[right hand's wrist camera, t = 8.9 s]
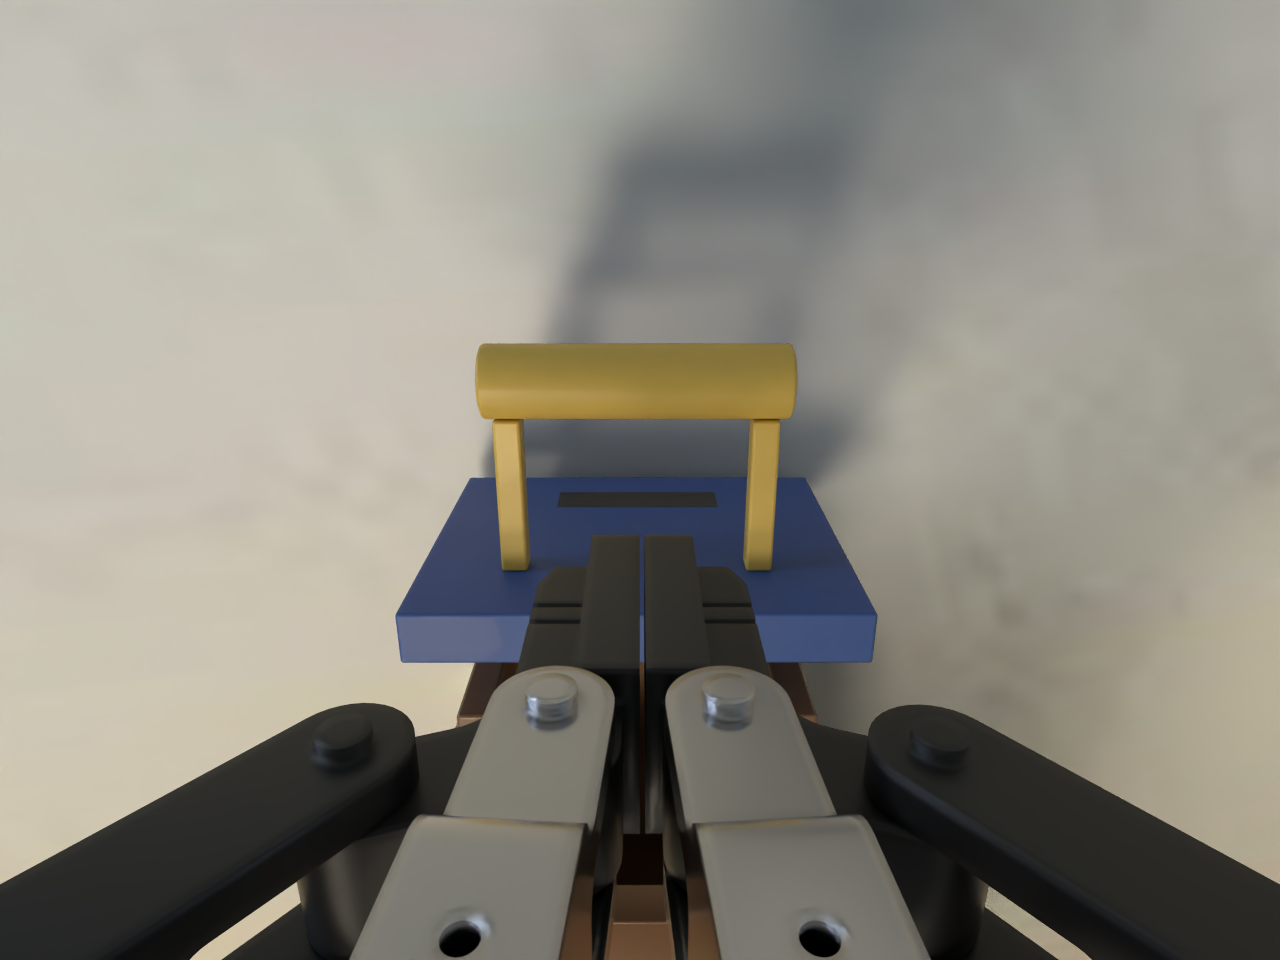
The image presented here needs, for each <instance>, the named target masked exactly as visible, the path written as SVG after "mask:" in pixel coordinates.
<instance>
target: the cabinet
mask: <svg viewBox="0 0 1280 960" xmlns="http://www.w3.org/2000/svg"><path fill="white" fill-rule="evenodd" d="M802 671H803V669H802ZM803 674H804V672H803ZM804 677H805V675H804ZM805 681H806V678H805ZM806 684H807V682H806ZM816 723H817V724H819V722H818V719H817V721H816ZM457 727H458V723H457V725H456V728H457ZM609 960H671V955H670V947H669V939H668V931H667V923H666V914H665V906H664V898H663V885H617V898H616V906H615V914H614V923H613V931H612V939H611V947H610V955H609Z"/></svg>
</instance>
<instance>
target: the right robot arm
mask: <svg viewBox="0 0 1280 960" xmlns="http://www.w3.org/2000/svg"><path fill="white" fill-rule="evenodd" d="M644 720H645V833H663V898H664V906H665V914H666V923H667V931H668V939H669V947H670V955H671V960H1058V959H1057V958H1055V957H1054V956H1053V955H1051V954H1050V953H1048V952H1047V951H1046V950H1044V949H1043V948H1041V947H1040V946H1039V945H1037V944H1036V943H1034V942H1033V941H1032V940H1030V939H1029V938H1027V937H1026V936H1025V935H1023V934H1022V933H1020V932H1019V931H1018V930H1016V929H1015V928H1014V927H1012V926H1011V925H1009V924H1008V923H1007V922H1005V921H1004V920H1002V919H1001V918H1000V917H998V916H997V915H995V914H994V913H993V912H991V911H990V910H988V909H987V908H986V907H985V902H986V897H987V892H988V887H989V886H990V887H992V888H993V889H995V890H996V891H997V892H999V893H1000V894H1002V895H1003V896H1005V897H1006V898H1008V899H1009V900H1010V901H1012V902H1013V903H1015V904H1016V905H1018V906H1019V907H1021V908H1022V909H1023V910H1025V911H1026V912H1028V913H1029V914H1031V915H1032V916H1033V917H1035V918H1036V919H1038V920H1039V921H1041V922H1042V923H1044V924H1045V925H1046V926H1048V927H1049V928H1051V929H1052V930H1054V931H1055V932H1057V933H1058V934H1059V935H1061V936H1062V937H1064V938H1065V939H1067V940H1068V941H1069V942H1071V943H1072V944H1074V945H1075V946H1077V947H1078V948H1079V949H1081V950H1082V951H1083V952H1085V953H1086V954H1087V955H1088V956H1089V957H1090V958H1091V959H1092V960H1280V884H1278V883H1276V882H1274V881H1272V880H1271V879H1269V878H1267V877H1265V876H1263V875H1261V874H1260V873H1258V872H1256V871H1254V870H1252V869H1250V868H1248V867H1247V866H1245V865H1243V864H1241V863H1239V862H1237V861H1236V860H1234V859H1232V858H1230V857H1228V856H1226V855H1224V854H1223V853H1221V852H1219V851H1217V850H1215V849H1213V848H1212V847H1210V846H1208V845H1206V844H1204V843H1202V842H1200V841H1199V840H1197V839H1195V838H1193V837H1191V836H1189V835H1188V834H1186V833H1184V832H1182V831H1180V830H1178V829H1176V828H1175V827H1173V826H1171V825H1169V824H1167V823H1165V822H1164V821H1162V820H1160V819H1158V818H1156V817H1154V816H1152V815H1151V814H1149V813H1147V812H1145V811H1143V810H1141V809H1140V808H1138V807H1136V806H1134V805H1132V804H1130V803H1128V802H1127V801H1125V800H1123V799H1121V798H1119V797H1117V796H1116V795H1114V794H1112V793H1110V792H1108V791H1106V790H1104V789H1103V788H1101V787H1099V786H1097V785H1095V784H1093V783H1092V782H1090V781H1088V780H1086V779H1084V778H1082V777H1080V776H1079V775H1077V774H1075V773H1073V772H1071V771H1069V770H1068V769H1066V768H1064V767H1062V766H1060V765H1058V764H1056V763H1055V762H1053V761H1051V760H1049V759H1047V758H1045V757H1044V756H1042V755H1040V754H1038V753H1036V752H1034V751H1032V750H1031V749H1029V748H1027V747H1025V746H1023V745H1021V744H1020V743H1018V742H1016V741H1014V740H1012V739H1010V738H1008V737H1007V736H1005V735H1003V734H1001V733H999V732H997V731H996V730H994V729H992V728H990V727H988V726H986V725H984V724H983V723H981V722H979V721H977V720H975V719H973V718H971V717H969V716H967V715H964V714H962V713H959V712H956V711H953V710H950V709H946V708H942V707H936V706H930V705H906V706H899V707H896V708H892V709H889V710H887V711H885V712H883V713H881V714H880V715H879V716H878V717H876V718H875V720H874V721H873V722H872V723H871V726H870V729H869V733H868V736H865V735H861V734H856V733H851V732H847V731H842V730H837V729H833V728H830V727H826V726H823V725H820V724H817V723H814V722H812V721H810V720H808V719H806V718H804V717H802V716H800V715H798V714H797V713H796V712H795V710H794V707H793V705H792V702H791V700H790V698H789V696H788V694H787V692H786V691H785V690H784V689H783V688H782V686H780V685H779V684H778V683H777V682H776V681H774V680H773V679H771V677H770V674H769V670H768V666H767V662H766V658H765V654H764V650H763V646H762V642H761V638H760V634H759V630H758V627H757V624H756V619H755V615H754V611H753V607H752V603H751V599H750V595H749V591H748V587H747V584H746V583H745V582H744V581H743V580H742V579H741V578H740V577H739V576H738V575H737V574H736V573H734V572H733V571H732V570H731V569H730V568H729V567H697V564H696V557H695V550H694V543H693V536H692V535H644ZM623 834H640V535H592V538H591V545H590V553H589V560H588V567H555V568H554V569H553V570H552V571H551V572H550V573H549V574H548V575H547V576H546V577H545V578H543V579H542V580H541V581H540V582H539V583H538V585H537V589H536V593H535V597H534V601H533V607H532V610H531V614H530V618H529V624H528V626H527V630H526V634H525V638H524V642H523V646H522V651H521V655H520V659H519V663H518V667H517V671H516V675H514V676H512V677H511V678H509V679H507V680H506V681H504V682H503V683H502V684H501V685H500V686H498V688H497V689H496V690H495V691H494V692H493V694H492V696H491V698H490V700H489V702H488V705H487V707H486V710H485V712H484V715H483V717H482V718H481V719H479V720H477V721H475V722H472V723H470V724H467V725H464V726H461V727H457V728H454V729H450V730H445V731H441V732H436V733H431V734H427V735H422V736H418V737H415V731H414V727H413V724H412V722H411V720H410V719H409V718H408V717H407V716H406V715H405V714H404V713H403V712H401V711H399V710H397V709H395V708H393V707H390V706H386V705H382V704H375V703H358V704H349V705H343V706H338V707H335V708H331V709H328V710H325V711H322V712H319V713H317V714H315V715H313V716H311V717H309V718H307V719H305V720H303V721H301V722H299V723H297V724H296V725H294V726H292V727H290V728H288V729H286V730H284V731H283V732H281V733H279V734H277V735H275V736H273V737H272V738H270V739H268V740H266V741H264V742H262V743H260V744H259V745H257V746H255V747H253V748H251V749H249V750H248V751H246V752H244V753H242V754H240V755H238V756H236V757H235V758H233V759H231V760H229V761H227V762H225V763H224V764H222V765H220V766H218V767H216V768H214V769H212V770H211V771H209V772H207V773H205V774H203V775H201V776H200V777H198V778H196V779H194V780H192V781H190V782H188V783H187V784H185V785H183V786H181V787H179V788H177V789H176V790H174V791H172V792H170V793H168V794H166V795H164V796H163V797H161V798H159V799H157V800H155V801H153V802H152V803H150V804H148V805H146V806H144V807H142V808H140V809H139V810H137V811H135V812H133V813H131V814H129V815H128V816H126V817H124V818H122V819H120V820H118V821H116V822H115V823H113V824H111V825H109V826H107V827H105V828H104V829H102V830H100V831H98V832H96V833H94V834H92V835H91V836H89V837H87V838H85V839H83V840H81V841H80V842H78V843H76V844H74V845H72V846H70V847H68V848H67V849H65V850H63V851H61V852H59V853H57V854H56V855H54V856H52V857H50V858H48V859H46V860H44V861H43V862H41V863H39V864H37V865H35V866H33V867H32V868H30V869H28V870H26V871H24V872H22V873H20V874H19V875H17V876H15V877H13V878H11V879H9V880H8V881H6V882H4V883H2V884H0V960H190V959H191V958H192V956H193V955H195V954H196V953H197V952H198V951H199V950H200V949H201V948H202V947H204V946H205V945H206V944H208V943H209V942H211V941H212V940H213V939H215V938H216V937H218V936H219V935H221V934H222V933H224V932H225V931H226V930H228V929H229V928H231V927H232V926H234V925H235V924H236V923H238V922H239V921H241V920H242V919H244V918H245V917H247V916H248V915H249V914H251V913H252V912H254V911H255V910H257V909H258V908H260V907H261V906H262V905H264V904H265V903H267V902H268V901H270V900H271V899H272V898H274V897H275V896H277V895H278V894H280V893H281V892H283V891H284V890H285V889H287V888H288V887H290V886H291V885H293V884H294V883H295V882H297V885H298V890H299V895H300V901H301V903H300V904H299V905H297V906H296V907H294V908H293V909H292V910H290V911H289V912H287V913H286V914H285V915H283V916H282V917H280V918H279V919H278V920H276V921H275V922H273V923H272V924H271V925H269V926H268V927H267V928H265V929H264V930H262V931H261V932H260V933H258V934H257V935H255V936H254V937H253V938H251V939H250V940H248V941H247V942H246V943H244V944H243V945H241V946H240V947H239V948H237V949H236V950H234V951H233V952H232V953H230V954H229V955H228V956H226V957H225V958H223V959H222V960H609V955H610V947H611V939H612V931H613V923H614V914H615V906H616V898H617V872H618V871H619V868H620V865H621V862H622V854H623Z"/></svg>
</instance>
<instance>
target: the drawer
mask: <svg viewBox="0 0 1280 960" xmlns="http://www.w3.org/2000/svg"><path fill="white" fill-rule="evenodd" d="M475 388H476V399H477V405H478V409H479V412H480V414H481V416H482V417H483V418H485V419H494V421H493V423H492V429H493V443H494V458H495V473H496V478H470V480H469V481H468V483H467V485H466V487H465V489H464V491H463V492H462V494H461V496H460V498H459V500H458V502H457V503H456V505H455V507H454V509H453V511H452V513H451V514H450V516H449V518H448V520H447V522H446V524H445V525H444V527H443V529H442V531H441V533H440V534H439V536H438V538H437V540H436V542H435V544H434V545H433V547H432V549H431V551H430V553H429V555H428V556H427V558H426V560H425V562H424V564H423V566H422V567H421V569H420V571H419V573H418V575H417V577H416V578H415V580H414V582H413V584H412V586H411V588H410V589H409V591H408V593H407V595H406V597H405V599H404V600H403V602H402V604H401V606H400V608H399V610H398V611H397V613H396V624H397V633H398V641H399V649H400V657H401V661H402V662H404V663H475V664H474V667H473V670H472V673H471V676H470V679H469V682H468V685H467V688H466V691H465V694H464V697H463V700H462V703H461V706H460V709H459V712H458V715H457V723H458V727H461V726H464V725H467V724H470V723H472V722H475V721H477V720H479V719H481V718H482V717H483V715H484V712H485V710H486V707H487V705H488V702H489V700H490V698H491V696H492V694H493V692H494V691H495V690H496V689H497V688H498V686H500V685H501V684H502V683H503V682H504V681H506V680H507V679H509V678H511V677H512V676H514V675H516V671H517V667H518V663H519V659H520V655H521V651H522V646H523V642H524V638H525V634H526V630H527V626H528V624H529V618H530V614H531V610H532V607H533V601H534V597H535V593H536V589H537V585H538V583H539V582H540V581H541V580H542V579H543V578H545V577H546V576H547V575H548V574H549V573H550V572H551V571H552V570H553V569H554V568H555V567H588V560H589V553H590V545H591V538H592V535H640V834H623V854H622V862H621V865H620V868H619V871H618V872H617V885H663V833H645V720H644V535H692V536H693V543H694V550H695V557H696V564H697V567H729V568H730V569H731V570H732V571H733V572H734V573H736V574H737V575H738V576H739V577H740V578H741V579H742V580H743V581H744V582H745V583H746V584H747V587H748V591H749V595H750V599H751V603H752V607H753V611H754V615H755V619H756V624H757V627H758V630H759V634H760V638H761V642H762V646H763V650H764V654H765V658H766V662H767V666H768V670H769V674H770V677H771V679H773V680H774V681H776V682H777V683H778V684H779V685H780V686H782V688H783V689H784V690H785V691H786V692H787V694H788V696H789V698H790V700H791V702H792V705H793V707H794V710H795V712H796V713H797V714H798V715H800V716H802V717H804V718H806V719H808V720H810V721H812V722H814V723H816V721H817V715H816V712H815V709H814V705H813V702H812V699H811V696H810V693H809V690H808V687H807V684H806V681H805V677H804V674H803V671H802V668H801V665H800V662H871V661H872V657H873V649H874V640H875V632H876V623H877V613H876V611H875V609H874V608H873V606H872V604H871V602H870V600H869V598H868V596H867V594H866V592H865V591H864V589H863V587H862V585H861V583H860V581H859V579H858V577H857V575H856V574H855V572H854V570H853V568H852V566H851V564H850V562H849V560H848V558H847V557H846V555H845V553H844V551H843V549H842V547H841V545H840V543H839V541H838V540H837V538H836V536H835V534H834V532H833V530H832V528H831V526H830V524H829V522H828V521H827V519H826V517H825V515H824V513H823V511H822V509H821V507H820V505H819V504H818V502H817V500H816V498H815V496H814V494H813V492H812V490H811V488H810V487H809V485H808V483H807V481H806V479H805V478H777V474H778V458H779V442H780V426H781V423H780V421H779V419H788V418H790V417H791V416H792V413H793V411H794V407H795V402H796V394H797V362H796V355H795V351H794V348H793V346H792V345H791V344H789V343H668V344H482V345H480V347H479V350H478V353H477V358H476V367H475ZM523 419H750V430H749V451H748V471H747V478H526V466H525V448H524V429H523Z"/></svg>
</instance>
